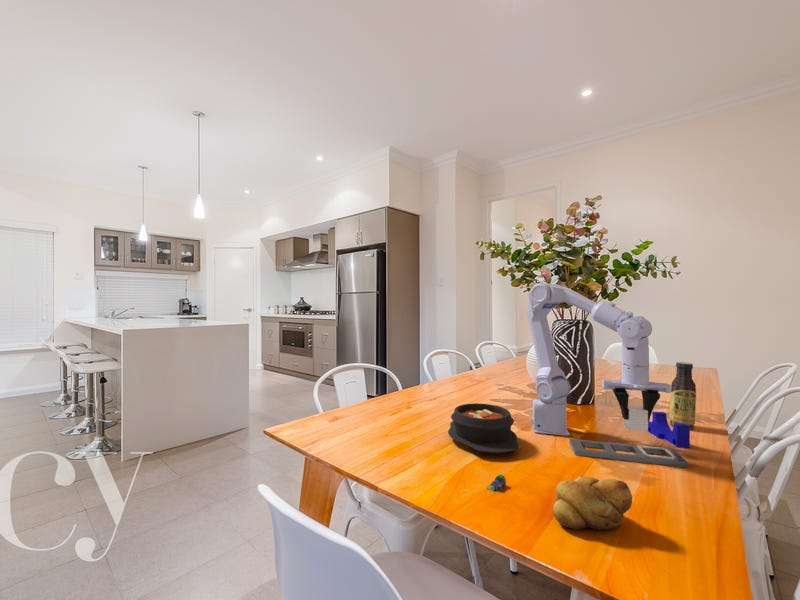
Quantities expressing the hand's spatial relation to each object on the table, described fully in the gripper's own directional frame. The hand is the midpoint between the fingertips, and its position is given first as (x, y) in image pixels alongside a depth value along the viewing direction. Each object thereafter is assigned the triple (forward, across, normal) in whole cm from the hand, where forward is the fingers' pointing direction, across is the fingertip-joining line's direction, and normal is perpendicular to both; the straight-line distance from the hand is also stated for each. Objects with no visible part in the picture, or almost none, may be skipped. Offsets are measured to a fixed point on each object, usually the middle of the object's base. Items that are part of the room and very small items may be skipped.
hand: (635, 419), depth 89 cm
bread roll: (+10, -18, -32) cm, 38 cm away
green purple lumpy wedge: (+10, -33, -26) cm, 43 cm away
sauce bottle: (+9, +21, +28) cm, 37 cm away
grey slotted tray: (+9, -3, 0) cm, 9 cm away
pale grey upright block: (+2, 0, 0) cm, 2 cm away
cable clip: (+10, +12, +16) cm, 22 cm away
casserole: (+9, -38, -1) cm, 39 cm away
